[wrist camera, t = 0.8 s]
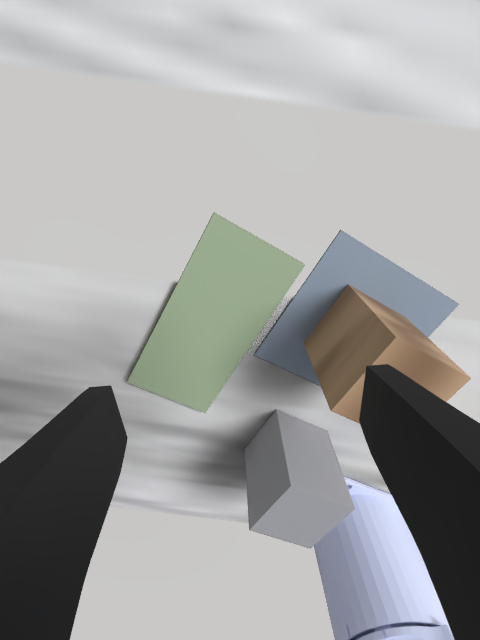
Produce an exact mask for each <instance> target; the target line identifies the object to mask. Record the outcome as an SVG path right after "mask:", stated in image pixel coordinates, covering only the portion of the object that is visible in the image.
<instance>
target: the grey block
mask: <svg viewBox="0 0 480 640" xmlns="http://www.w3.org/2000/svg"><path fill="white" fill-rule="evenodd" d="M244 450H245V467H246V483H247V499H248V516H249V530H251V531H255V532H258V533H261V534H264V535H268V536H271V537H274V538H278V539H281V540H284V541H287V542H291V543H294V544H297V545H301V546H304V547H307V548H311V547H313V546H314V545H315V544H316V543H317V542H318V541H319V540H321V539H322V538H323V537H324V536H325V535H326V534H327V533H328V532H330V531H331V530H332V529H333V528H334V527H335V526H336V525H337V524H339V523H340V522H341V521H342V520H343V519H344V518H345V517H346V516H348V515H349V514H350V513H351V512H352V511H353V510H354V509H355V507H354V504H353V501H352V499H351V496H350V493H349V490H348V487H347V485H346V482H345V479H344V476H343V473H342V471H341V468H340V465H339V462H338V459H337V457H336V454H335V451H334V448H333V445H332V443H331V440H330V437H329V434H328V431H327V430H324V429H322V428H320V427H317V426H315V425H312V424H310V423H308V422H305V421H303V420H301V419H298V418H296V417H293V416H291V415H289V414H286V413H284V412H282V411H279V410H277V409H276V410H275V412H274V413H273V414H272V415H271V417H270V418H269V419H268V420H267V422H266V423H265V424H264V425H263V427H262V428H261V429H260V430H259V432H258V433H257V434H256V436H255V437H254V438H253V439H252V441H251V442H250V443H249V444H248V446H247V447H246V448H245V449H244Z"/></svg>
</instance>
